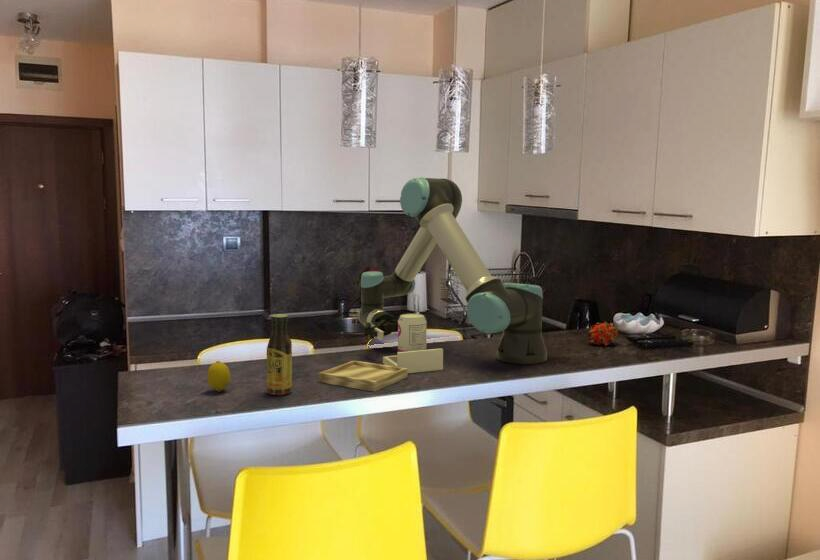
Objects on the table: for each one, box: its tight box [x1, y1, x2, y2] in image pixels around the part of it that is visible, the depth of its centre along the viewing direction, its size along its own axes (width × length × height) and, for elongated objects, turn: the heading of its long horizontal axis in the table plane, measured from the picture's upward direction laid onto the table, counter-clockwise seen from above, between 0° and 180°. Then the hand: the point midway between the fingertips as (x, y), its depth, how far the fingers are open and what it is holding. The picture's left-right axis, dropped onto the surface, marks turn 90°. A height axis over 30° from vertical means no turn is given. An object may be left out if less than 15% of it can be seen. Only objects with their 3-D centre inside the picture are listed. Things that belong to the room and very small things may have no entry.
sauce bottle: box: [266, 313, 293, 397], centre depth 165 cm, size 6×6×20 cm
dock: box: [382, 348, 444, 374], centre depth 192 cm, size 14×14×6 cm
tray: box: [318, 360, 409, 393], centre depth 178 cm, size 18×16×2 cm
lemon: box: [206, 360, 231, 393], centre depth 167 cm, size 6×6×8 cm
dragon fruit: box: [586, 320, 619, 347], centre depth 221 cm, size 8×8×12 cm
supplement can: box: [397, 313, 427, 352], centre depth 192 cm, size 8×8×15 cm
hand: (404, 334), depth 197 cm, fingers open, 13 cm apart
